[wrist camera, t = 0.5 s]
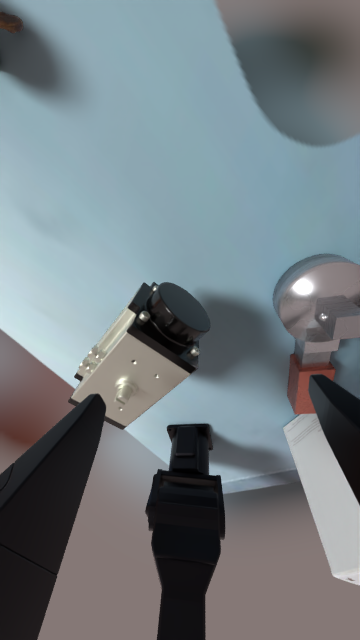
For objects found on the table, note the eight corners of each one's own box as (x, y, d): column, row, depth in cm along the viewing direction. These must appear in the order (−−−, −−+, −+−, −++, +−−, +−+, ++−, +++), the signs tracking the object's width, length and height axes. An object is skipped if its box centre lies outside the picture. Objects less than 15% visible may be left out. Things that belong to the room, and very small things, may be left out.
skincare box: (311, 438, 33) (379, 595, 20) (279, 425, 32) (329, 581, 19) (359, 409, 29) (481, 582, 16) (323, 392, 28) (423, 563, 15)
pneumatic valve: (209, 282, 21) (216, 370, 11) (144, 350, 27) (108, 451, 17) (164, 245, 20) (125, 307, 10) (105, 325, 25) (39, 419, 15)
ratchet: (332, 395, 28) (361, 442, 23) (270, 398, 29) (284, 443, 24) (367, 246, 19) (430, 269, 13) (273, 261, 20) (298, 287, 15)
